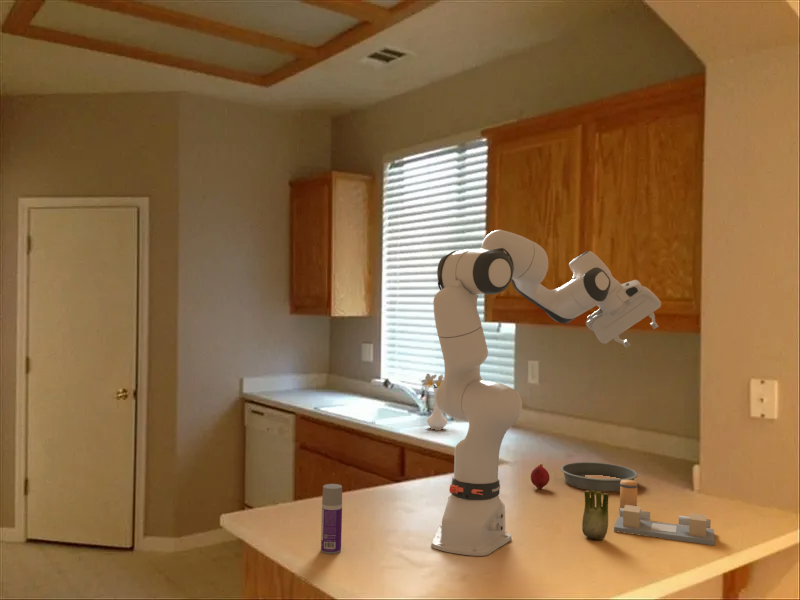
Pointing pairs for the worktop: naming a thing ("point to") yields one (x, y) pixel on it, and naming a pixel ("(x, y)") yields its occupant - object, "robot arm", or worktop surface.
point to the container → (331, 519)
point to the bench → (665, 526)
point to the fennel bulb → (595, 516)
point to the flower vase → (435, 403)
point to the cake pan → (579, 469)
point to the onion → (540, 476)
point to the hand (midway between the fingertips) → (642, 336)
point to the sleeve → (628, 493)
